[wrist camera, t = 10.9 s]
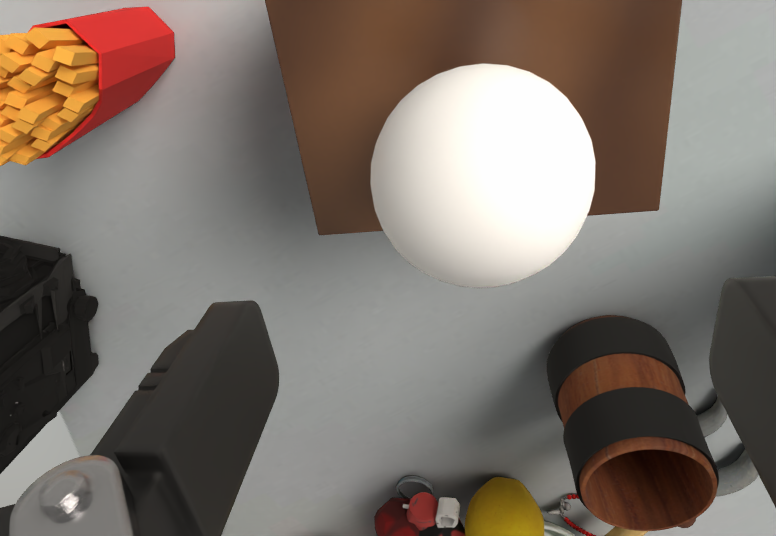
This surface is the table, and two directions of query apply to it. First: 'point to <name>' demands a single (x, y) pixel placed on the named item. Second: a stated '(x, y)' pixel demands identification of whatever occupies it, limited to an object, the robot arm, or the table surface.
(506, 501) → the apple
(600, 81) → the shelf
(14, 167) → the table surface
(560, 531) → the saucer
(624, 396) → the mug
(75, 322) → the camera
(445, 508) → the grenade
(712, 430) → the novelty tool
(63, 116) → the french fries
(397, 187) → the lightbulb
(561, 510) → the necklace
